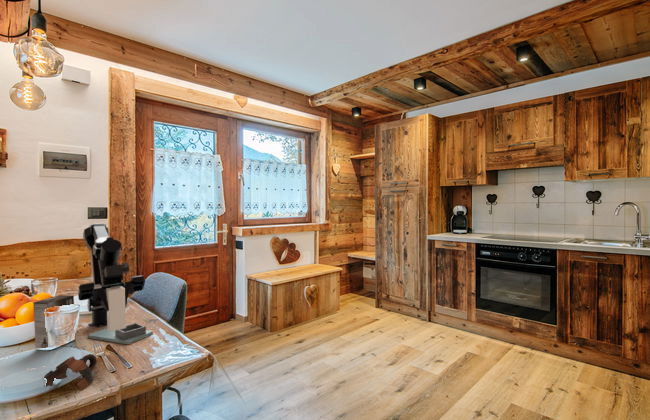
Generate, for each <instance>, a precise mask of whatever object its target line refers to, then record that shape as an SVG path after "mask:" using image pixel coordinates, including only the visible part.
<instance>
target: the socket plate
mask: <svg viewBox="0 0 650 420" xmlns="http://www.w3.org/2000/svg"><path fill="white" fill-rule="evenodd" d="M153 334H154V331H153V330H147V327H146V325H143V324H141V323H138V322H134V323H130V324H126V328H124V329H119V330H115V331H111V332H110V331H109V330H108V328H103V329H101V330H99V331H95V332H93V333H90V334H88V335H87V338H88V339H91V340H92V339H93V340H100V341H105V342H110V343H117V344H122V345H130V344H133V343H135V342H138V341H139V340H142V339H144V338H146V337H150V336H152V335H153Z"/></svg>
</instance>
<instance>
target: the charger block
mask: <svg viewBox="0 0 650 420" xmlns="http://www.w3.org/2000/svg"><path fill="white" fill-rule="evenodd" d="M106 297H107V302H108V306H109V311H107V324H106V327H107V328H108V330H109V331H110V332H111V331H115V330H119V329H124V328H126V326H127V322H126V321H127V320H126V317H127V316H126V314H127V313H126V312H127V311H126V308H125V288H124V287H122V286H114V287H111V288H106Z"/></svg>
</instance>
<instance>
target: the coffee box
mask: <svg viewBox="0 0 650 420" xmlns="http://www.w3.org/2000/svg"><path fill="white" fill-rule="evenodd" d="M74 298H75V297H74V295H73V294H72V295H67V294H65V295H63V294H62V295H61V294H60V295H56V296H55V295H54V296H52V297H47V298H44V299H40V300H37V301H34V302H32V304H33V318H34V319H33V320H34V324H33V325H34V335H35V336H34V338H35V339H34V340H35V344H34V345H35V349H36V348H46V347H48V337H47V332H46V328H45V314H44V310H45V309H47V308H50V307H54V306H62V305H70V304H74V305H75V299H74ZM76 334H77V333H75V341H76V340H77V338H76Z"/></svg>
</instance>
